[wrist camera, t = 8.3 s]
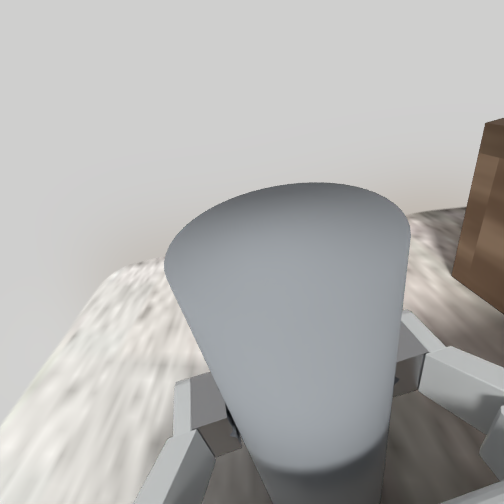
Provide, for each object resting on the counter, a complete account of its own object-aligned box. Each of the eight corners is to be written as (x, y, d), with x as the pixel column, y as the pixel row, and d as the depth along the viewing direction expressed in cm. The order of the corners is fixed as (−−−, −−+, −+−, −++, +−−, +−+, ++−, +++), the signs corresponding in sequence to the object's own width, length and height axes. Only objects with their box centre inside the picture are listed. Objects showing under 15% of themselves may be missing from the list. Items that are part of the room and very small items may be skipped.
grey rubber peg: (346, 398, 15) (335, 168, 8) (408, 521, 11) (487, 256, 4) (255, 429, 14) (168, 214, 8) (284, 566, 10) (153, 360, 4)
